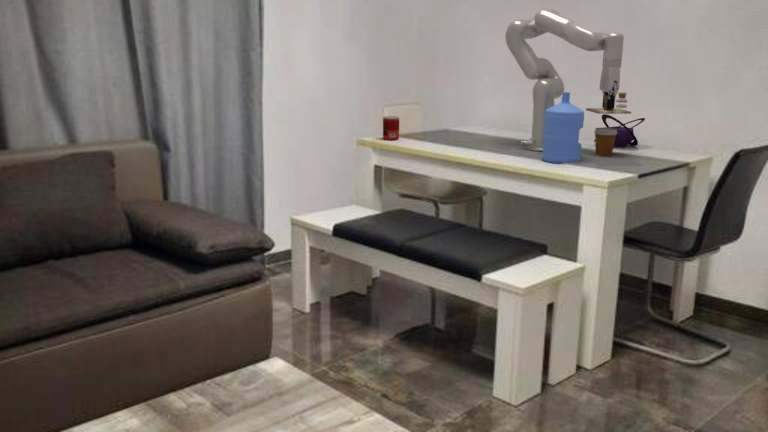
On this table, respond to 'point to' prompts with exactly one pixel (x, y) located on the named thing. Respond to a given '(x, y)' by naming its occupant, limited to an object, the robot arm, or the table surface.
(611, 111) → the oak lid
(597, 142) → the disposable coffee cup
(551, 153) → the water jug
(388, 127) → the canned food
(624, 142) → the decorative bottle
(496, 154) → the table surface
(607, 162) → the rubber mat
